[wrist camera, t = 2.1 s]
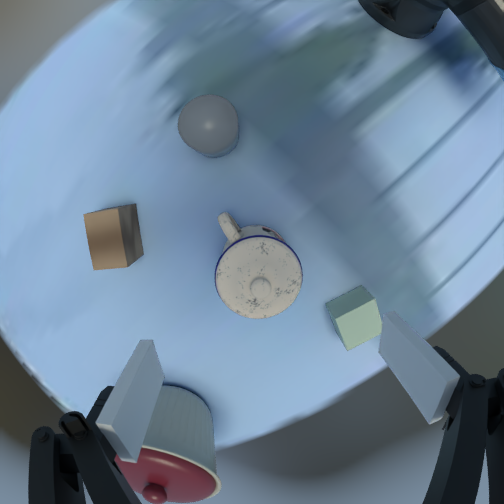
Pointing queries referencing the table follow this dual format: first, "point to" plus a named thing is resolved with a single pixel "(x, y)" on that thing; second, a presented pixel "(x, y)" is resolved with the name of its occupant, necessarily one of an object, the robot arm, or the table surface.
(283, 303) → the teacup with lid
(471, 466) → the robot arm
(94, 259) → the walnut block
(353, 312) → the sage green block
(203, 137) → the grey rounded piece
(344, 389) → the table surface
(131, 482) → the canister
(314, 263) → the table surface
